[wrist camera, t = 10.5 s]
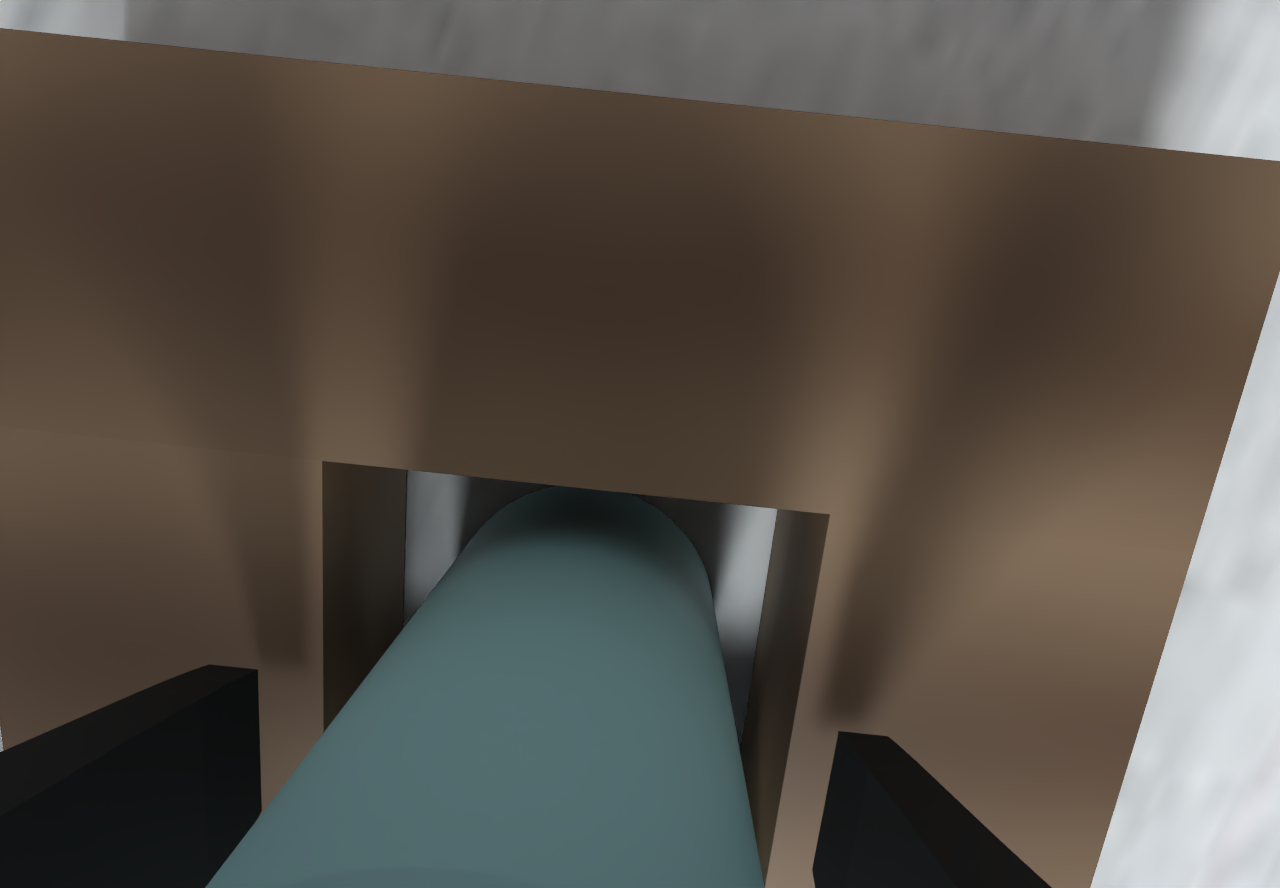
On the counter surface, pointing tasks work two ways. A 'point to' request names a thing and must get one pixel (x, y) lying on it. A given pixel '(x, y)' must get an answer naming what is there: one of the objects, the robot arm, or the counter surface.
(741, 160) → the walnut well block
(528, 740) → the teal peg
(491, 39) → the counter surface
